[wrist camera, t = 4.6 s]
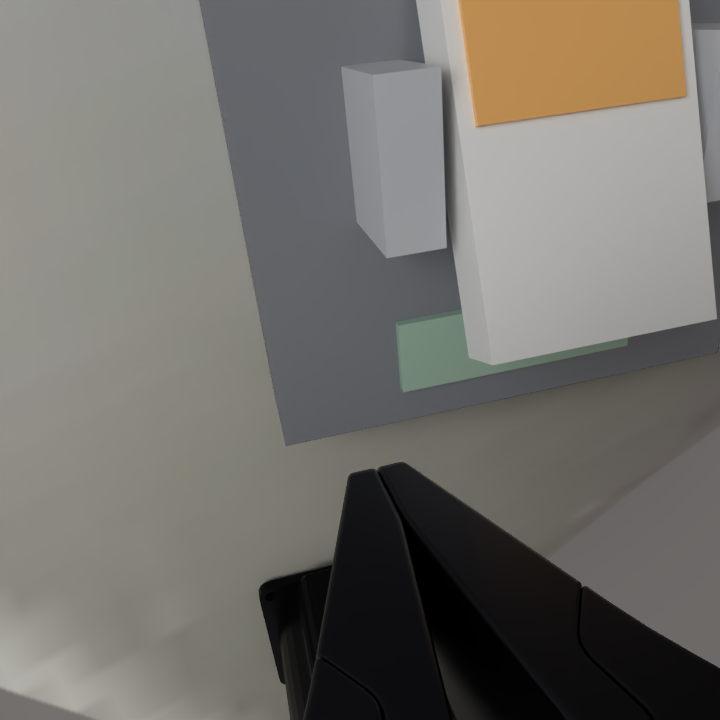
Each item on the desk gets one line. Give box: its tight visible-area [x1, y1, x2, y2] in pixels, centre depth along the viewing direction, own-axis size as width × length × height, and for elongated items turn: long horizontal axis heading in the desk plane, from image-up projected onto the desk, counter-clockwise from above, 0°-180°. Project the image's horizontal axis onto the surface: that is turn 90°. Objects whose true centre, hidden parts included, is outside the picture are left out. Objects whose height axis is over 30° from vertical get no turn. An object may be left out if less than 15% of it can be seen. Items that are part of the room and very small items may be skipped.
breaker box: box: [199, 0, 720, 446], centre depth 17 cm, size 18×16×6 cm
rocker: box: [416, 0, 717, 365], centre depth 15 cm, size 10×6×2 cm, turn 6°
